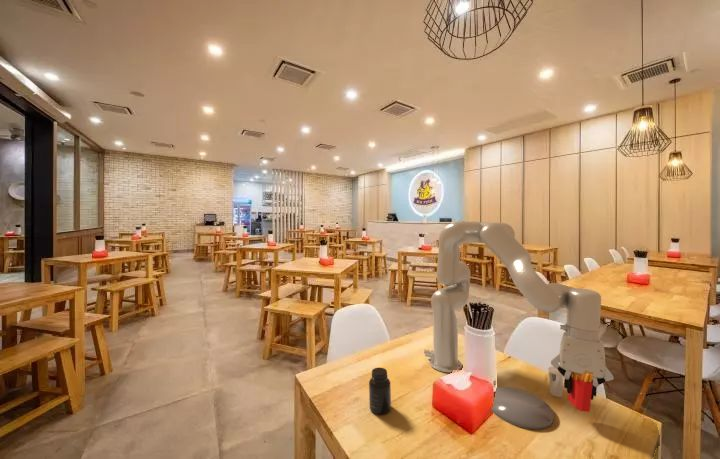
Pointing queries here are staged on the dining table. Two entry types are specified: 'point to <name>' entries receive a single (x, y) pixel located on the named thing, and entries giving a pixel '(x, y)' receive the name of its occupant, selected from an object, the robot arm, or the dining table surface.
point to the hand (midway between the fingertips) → (579, 393)
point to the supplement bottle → (379, 392)
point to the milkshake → (555, 382)
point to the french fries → (581, 390)
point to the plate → (522, 408)
